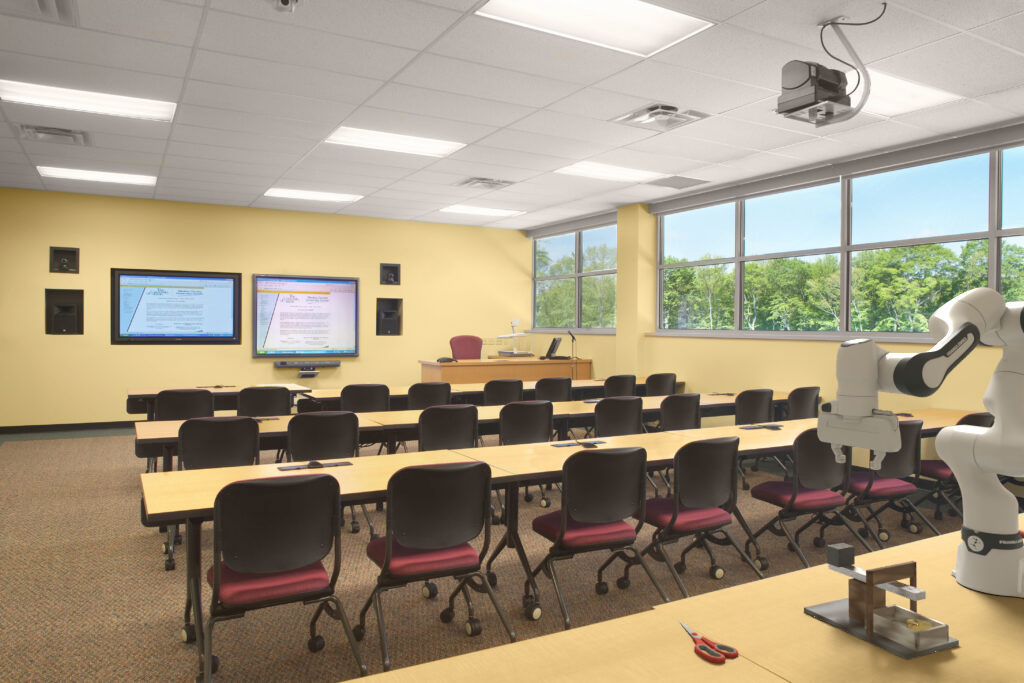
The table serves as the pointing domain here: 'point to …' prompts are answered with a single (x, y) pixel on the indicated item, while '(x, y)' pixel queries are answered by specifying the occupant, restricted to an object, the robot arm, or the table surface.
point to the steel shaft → (843, 561)
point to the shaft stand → (884, 615)
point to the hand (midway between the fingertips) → (857, 465)
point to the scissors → (710, 648)
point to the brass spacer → (918, 624)
